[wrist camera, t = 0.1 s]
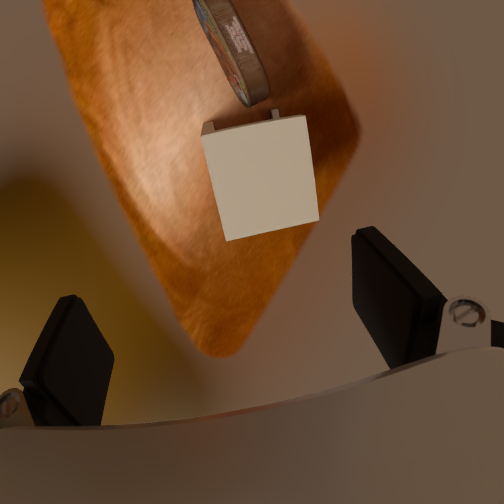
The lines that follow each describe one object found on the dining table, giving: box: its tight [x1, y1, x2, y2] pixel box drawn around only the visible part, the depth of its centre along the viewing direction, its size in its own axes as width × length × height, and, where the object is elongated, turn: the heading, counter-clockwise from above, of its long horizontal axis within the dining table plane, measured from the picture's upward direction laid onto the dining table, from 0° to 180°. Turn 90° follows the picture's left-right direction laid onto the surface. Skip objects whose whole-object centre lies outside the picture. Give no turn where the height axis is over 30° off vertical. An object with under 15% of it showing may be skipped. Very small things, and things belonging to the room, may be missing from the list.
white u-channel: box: [201, 109, 319, 241], centre depth 33 cm, size 10×9×12 cm
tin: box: [192, 0, 270, 108], centre depth 29 cm, size 15×3×8 cm, turn 23°
